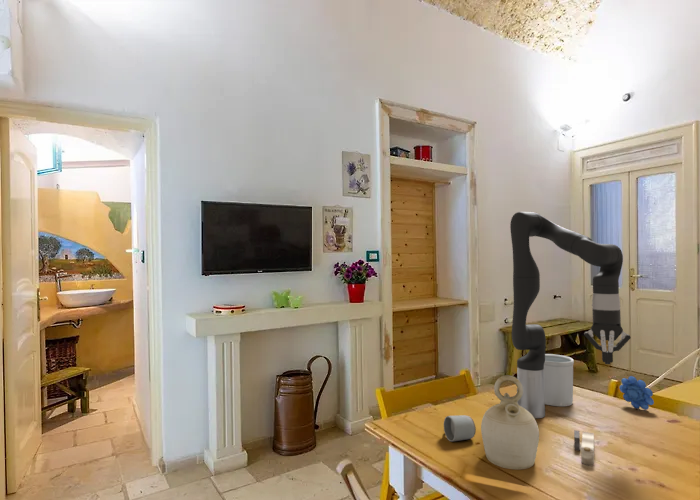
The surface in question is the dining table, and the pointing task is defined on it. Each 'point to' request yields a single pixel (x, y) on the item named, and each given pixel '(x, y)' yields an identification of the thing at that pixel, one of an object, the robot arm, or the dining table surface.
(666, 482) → the dining table surface
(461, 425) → the ceramic mug
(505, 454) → the jug
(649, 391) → the grapes
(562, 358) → the utensil holder
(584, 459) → the folding leg
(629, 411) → the dining table surface
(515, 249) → the robot arm
